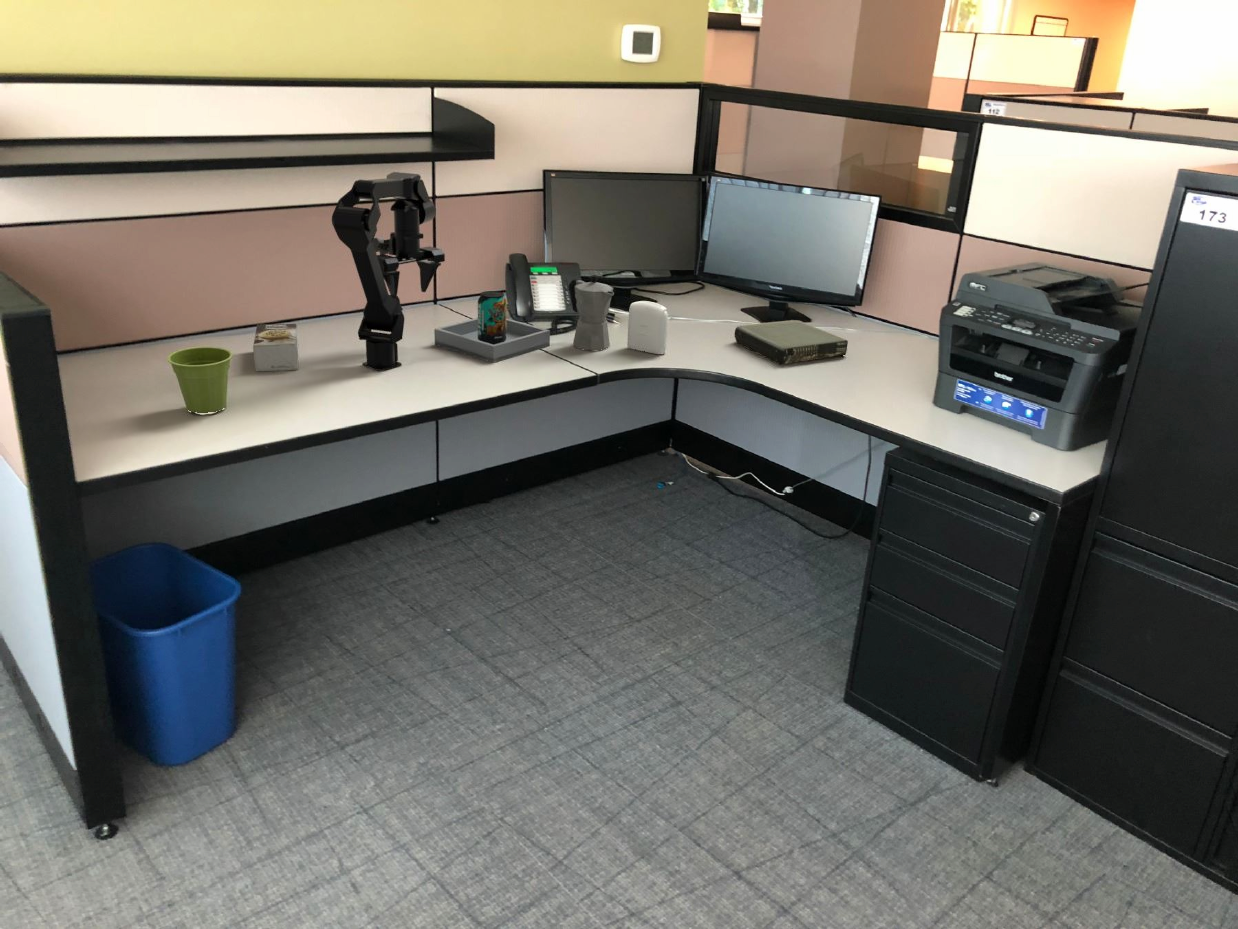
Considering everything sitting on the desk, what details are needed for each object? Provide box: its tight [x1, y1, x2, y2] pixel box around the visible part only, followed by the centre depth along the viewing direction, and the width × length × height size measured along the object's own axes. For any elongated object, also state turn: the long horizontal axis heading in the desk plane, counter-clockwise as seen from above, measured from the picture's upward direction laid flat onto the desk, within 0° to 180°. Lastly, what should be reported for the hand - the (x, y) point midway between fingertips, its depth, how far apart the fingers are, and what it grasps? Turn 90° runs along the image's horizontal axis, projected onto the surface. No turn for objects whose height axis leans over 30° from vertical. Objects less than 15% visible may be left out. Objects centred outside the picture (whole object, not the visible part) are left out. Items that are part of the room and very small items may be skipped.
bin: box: [434, 317, 551, 364], centre depth 250 cm, size 20×20×4 cm
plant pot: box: [166, 346, 234, 413], centre depth 199 cm, size 12×12×11 cm
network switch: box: [734, 319, 849, 366], centre depth 260 cm, size 23×23×5 cm
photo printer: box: [626, 300, 669, 355], centre depth 251 cm, size 10×4×12 cm, turn 60°
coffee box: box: [252, 323, 300, 372], centre depth 230 cm, size 9×6×16 cm
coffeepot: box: [568, 274, 615, 352], centre depth 252 cm, size 15×9×18 cm, turn 45°
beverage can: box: [477, 290, 508, 345], centre depth 248 cm, size 7×7×12 cm
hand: (408, 295), depth 240 cm, fingers open, 9 cm apart
